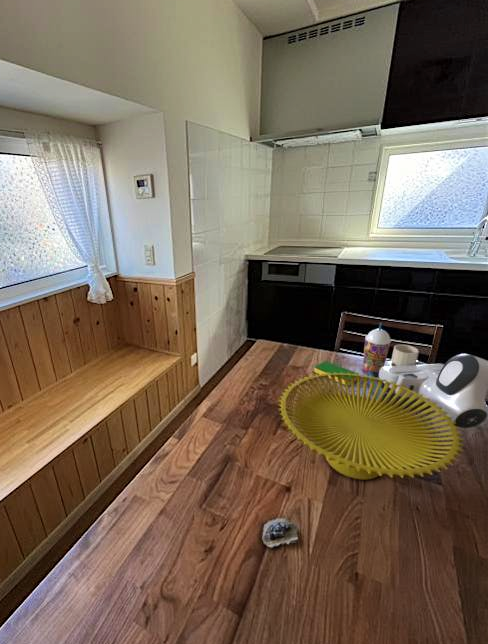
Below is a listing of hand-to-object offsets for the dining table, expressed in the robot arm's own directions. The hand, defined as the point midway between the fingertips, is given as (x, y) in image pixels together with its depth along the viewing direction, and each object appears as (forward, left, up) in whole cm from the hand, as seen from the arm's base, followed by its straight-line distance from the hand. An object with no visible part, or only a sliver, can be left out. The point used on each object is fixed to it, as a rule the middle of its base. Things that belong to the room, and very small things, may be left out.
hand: (401, 362), depth 110 cm
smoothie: (+3, -14, -12) cm, 19 cm away
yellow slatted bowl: (+22, +33, -12) cm, 41 cm away
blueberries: (+43, +57, -12) cm, 72 cm away
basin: (0, +1, -12) cm, 12 cm away
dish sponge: (+17, -10, -12) cm, 23 cm away
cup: (0, +1, -7) cm, 7 cm away
